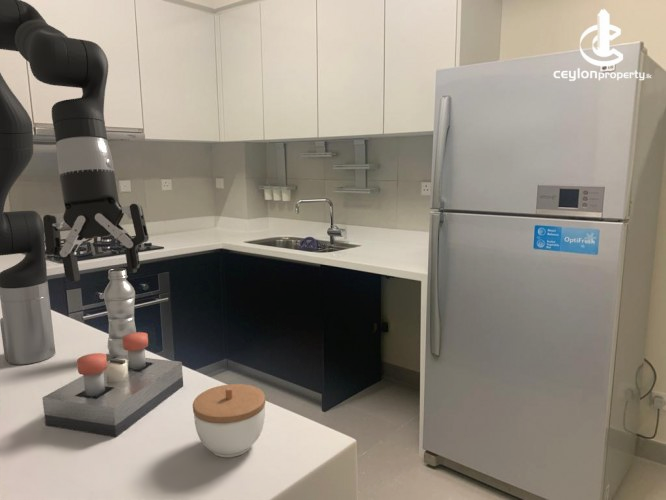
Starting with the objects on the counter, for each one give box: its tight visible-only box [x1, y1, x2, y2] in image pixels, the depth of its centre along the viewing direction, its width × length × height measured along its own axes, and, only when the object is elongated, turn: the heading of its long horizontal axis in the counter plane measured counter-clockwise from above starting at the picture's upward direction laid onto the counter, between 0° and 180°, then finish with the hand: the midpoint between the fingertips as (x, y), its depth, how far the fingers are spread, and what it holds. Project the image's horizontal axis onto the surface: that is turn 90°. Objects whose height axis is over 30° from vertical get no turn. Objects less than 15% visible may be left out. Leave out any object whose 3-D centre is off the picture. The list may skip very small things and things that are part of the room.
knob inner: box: [122, 331, 149, 370], centre depth 92 cm, size 4×4×6 cm
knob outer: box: [76, 352, 108, 396], centre depth 82 cm, size 4×4×6 cm
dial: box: [106, 358, 128, 383], centre depth 87 cm, size 4×4×4 cm
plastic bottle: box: [103, 268, 137, 358], centre depth 110 cm, size 6×7×20 cm
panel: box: [42, 355, 184, 438], centre depth 88 cm, size 14×19×5 cm
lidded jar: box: [192, 383, 266, 458], centre depth 74 cm, size 11×11×9 cm
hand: (104, 276), depth 75 cm, fingers open, 8 cm apart
